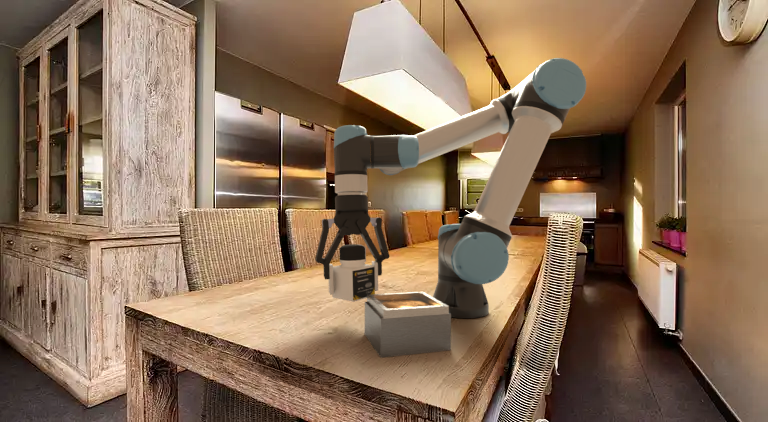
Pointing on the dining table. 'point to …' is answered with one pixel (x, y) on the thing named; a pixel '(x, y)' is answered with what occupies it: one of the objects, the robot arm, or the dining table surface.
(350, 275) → the medicine bottle
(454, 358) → the dining table surface
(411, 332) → the grey box
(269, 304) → the dining table surface
